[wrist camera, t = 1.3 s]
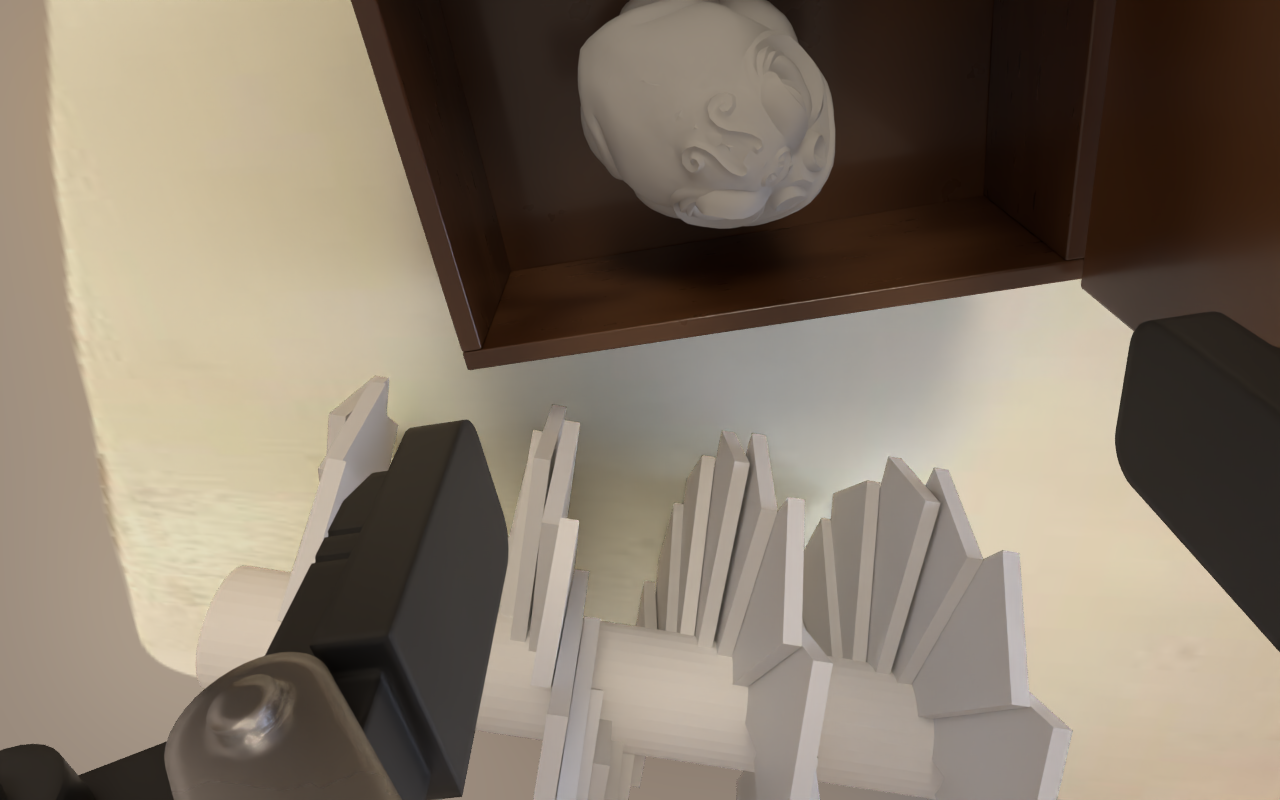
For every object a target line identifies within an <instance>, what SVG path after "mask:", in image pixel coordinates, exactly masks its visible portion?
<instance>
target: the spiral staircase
mask: <svg viewBox="0 0 1280 800" xmlns="http://www.w3.org/2000/svg"><path fill="white" fill-rule="evenodd" d="M388 390H389V378H387V377H381V376H374V377H373V378H371V379H370V380H369V381H368V382H367V383H365V384H364V385H363V386H362V387H361V388H359V389H358V390H357V391H356V392H354V393H353V394H352V395H351V396H350V397H348V398H347V399H346V400H345V401H344V402H342V403H341V404H340V405H339V406H337V407H336V408H335V409H334V410H333V411H331V412H330V413H329V421H328V440H327V454H326V456H325V458H324V459H323V461H322V463H321V464H320V466H319V468H318V473H319V481H320V483H319V487H318V490H317V493H316V496H315V499H314V503H313V506H312V509H311V512H310V516H309V519H308V522H307V525H306V528H305V532H304V535H303V538H302V541H301V544H300V548H299V551H298V554H297V557H296V560H295V564H294V567H293V570H292V572H285V571H279V570H272V569H266V568H260V567H253V566H240V567H237V568H236V569H234V570H233V571H232V572H231V573H230V574H229V575H228V576H227V577H226V578H225V579H224V581H223V582H222V584H221V585H220V587H219V588H218V590H217V592H216V594H215V595H214V597H213V599H212V601H211V603H210V606H209V608H208V610H207V613H206V616H205V619H204V621H203V624H202V628H201V632H200V636H199V640H198V646H197V652H196V674H197V679H198V682H199V684H200V686H201V687H202V688H203V689H205V688H206V687H208V686H209V685H210V684H212V683H213V682H214V681H216V680H217V679H218V678H220V677H221V676H223V675H224V674H226V673H228V672H229V671H231V670H232V669H234V668H236V667H238V666H240V665H242V664H244V663H246V662H249V661H251V660H254V659H257V658H259V657H263V656H265V654H266V652H267V650H268V648H269V646H270V644H271V642H272V640H273V638H274V636H275V634H276V633H277V631H278V629H279V627H280V625H281V623H282V621H283V619H284V617H285V615H286V613H287V611H288V609H289V607H290V605H291V603H292V601H293V599H294V597H295V595H296V593H297V591H298V589H299V587H300V585H301V583H302V581H303V579H304V577H305V575H306V573H307V571H308V569H309V567H310V565H311V564H312V563H315V555H316V553H317V551H318V549H319V547H320V545H321V543H322V542H323V540H324V538H325V537H328V530H329V528H330V526H331V524H332V522H333V520H334V518H335V516H336V514H337V512H338V510H339V508H340V506H341V504H342V502H343V501H344V500H345V499H346V498H347V497H348V496H349V495H350V494H351V493H352V492H353V491H354V490H355V489H356V488H357V487H358V486H359V485H360V484H361V483H362V482H363V481H364V480H365V479H366V478H367V477H368V476H369V475H370V474H372V473H375V472H382V471H388V469H389V466H390V462H391V457H392V453H393V448H394V444H395V439H396V435H397V430H398V426H399V425H398V424H397V423H395V422H394V421H393V420H392V419H390V418H389V417H388V416H387V403H388ZM565 413H566V407H564V406H558V405H552V406H551V409H550V412H549V415H548V418H547V421H546V424H545V427H544V430H543V431H538V430H533V434H532V439H531V445H530V450H529V456H528V462H527V465H526V468H525V472H524V476H523V481H522V485H521V489H520V493H519V498H518V502H517V506H516V510H515V515H514V519H513V523H512V527H511V532H510V536H509V537H508V549H509V552H508V565H507V571H506V576H505V581H504V586H503V591H502V596H501V601H500V606H499V611H498V616H497V621H496V627H495V632H494V637H493V642H492V647H491V652H490V657H489V662H488V667H487V672H486V677H485V683H484V688H483V693H482V698H481V703H480V708H479V713H478V718H477V723H476V728H475V731H482V732H489V733H495V734H502V735H509V736H515V737H522V738H529V739H536V740H542V741H543V743H542V749H541V755H540V761H539V767H538V774H537V780H536V786H535V792H534V798H533V800H629V793H630V786H632V787H640V784H641V778H642V774H643V768H644V762H645V758H646V756H649V757H655V758H662V759H670V760H675V761H682V762H689V763H696V764H703V765H709V766H716V767H723V768H729V769H736V770H742V771H743V773H742V774H741V775H740V777H739V779H738V780H737V800H820V795H819V788H818V782H823V783H829V784H836V785H843V786H850V787H856V788H863V789H869V790H876V791H883V792H889V793H896V794H902V795H909V796H917V797H922V798H928V800H1057V798H1058V794H1059V789H1060V785H1061V781H1062V776H1063V772H1064V767H1065V763H1066V758H1067V754H1068V749H1069V745H1070V740H1071V736H1072V732H1073V730H1072V729H1071V728H1069V727H1068V726H1067V725H1066V724H1065V723H1064V722H1063V721H1062V720H1061V719H1059V718H1058V717H1057V716H1056V715H1055V714H1054V713H1053V712H1052V711H1051V710H1049V709H1048V708H1047V707H1046V706H1045V705H1044V704H1043V703H1042V702H1040V701H1039V700H1038V699H1037V698H1036V697H1035V696H1034V695H1033V694H1032V693H1030V692H1029V684H1028V670H1027V655H1026V641H1025V626H1024V612H1023V597H1022V583H1021V568H1020V554H1019V553H1017V552H1011V551H1005V550H1002V551H1000V552H998V553H995V554H993V555H991V556H989V557H987V558H985V559H983V557H982V554H981V552H980V549H979V547H978V544H977V541H976V539H975V536H974V534H973V531H972V529H971V526H970V524H969V521H968V518H967V516H966V513H965V511H964V508H963V506H962V503H961V501H960V498H959V495H958V493H957V490H956V488H955V485H954V483H953V480H952V478H951V475H950V472H949V470H946V469H940V468H934V469H933V471H932V473H931V475H930V477H929V479H928V482H927V484H926V486H925V485H924V484H923V483H922V481H921V480H920V479H919V478H918V477H917V476H916V474H915V473H914V472H913V471H912V470H911V469H910V468H909V466H908V465H907V464H906V463H905V462H904V461H903V460H902V459H901V458H895V457H889V456H888V460H887V464H886V467H885V471H884V475H883V478H882V482H881V486H880V482H875V481H869V480H867V481H864V482H862V483H859V484H856V485H854V486H851V487H849V488H846V489H844V490H841V491H839V492H836V493H833V501H832V512H831V519H826V518H821V519H820V521H819V523H818V525H817V527H816V529H815V531H814V533H813V535H812V536H811V538H810V540H809V542H808V544H807V546H806V548H805V550H804V528H805V500H804V499H798V498H792V497H788V498H787V499H786V501H785V502H784V503H783V505H782V506H781V507H780V509H779V510H778V509H777V503H776V496H775V490H774V483H773V477H772V470H771V464H770V457H769V451H768V444H767V438H766V435H761V434H755V433H752V434H751V438H750V441H749V445H748V449H747V452H746V455H745V453H744V450H743V448H742V446H741V444H740V442H739V440H738V438H737V436H736V434H735V433H734V432H728V431H721V436H720V442H719V447H718V452H717V457H716V462H715V457H711V456H705V455H702V456H701V458H700V460H699V461H698V463H697V464H696V466H695V467H694V469H693V470H692V472H691V473H690V475H689V476H688V478H687V482H686V490H685V497H684V504H680V503H674V505H673V509H672V512H671V516H670V520H669V524H668V527H667V531H666V535H665V539H664V542H663V546H662V550H661V553H660V557H659V561H658V572H657V584H656V593H655V582H652V581H646V580H644V583H643V588H642V594H641V599H640V605H639V610H638V616H637V621H636V626H632V625H626V624H619V623H613V622H607V621H600V620H601V619H600V618H594V617H587V616H585V617H584V618H583V614H584V607H585V600H586V593H587V586H588V579H589V572H590V571H583V570H577V569H575V571H574V568H575V562H576V552H577V541H578V530H579V520H574V519H568V511H569V504H570V496H571V489H572V482H573V474H574V467H575V460H576V452H577V445H578V437H579V430H580V423H579V422H573V421H567V420H565ZM564 420H565V421H564ZM714 465H715V467H714ZM573 574H574V576H573ZM572 580H573V581H572ZM436 800H442V799H436Z"/></svg>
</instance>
